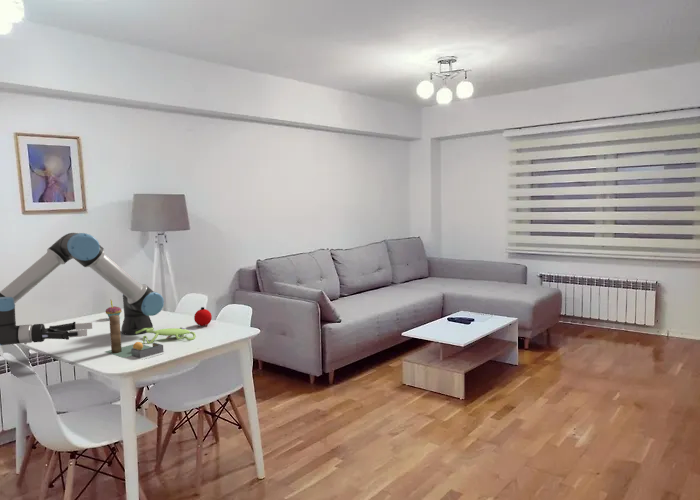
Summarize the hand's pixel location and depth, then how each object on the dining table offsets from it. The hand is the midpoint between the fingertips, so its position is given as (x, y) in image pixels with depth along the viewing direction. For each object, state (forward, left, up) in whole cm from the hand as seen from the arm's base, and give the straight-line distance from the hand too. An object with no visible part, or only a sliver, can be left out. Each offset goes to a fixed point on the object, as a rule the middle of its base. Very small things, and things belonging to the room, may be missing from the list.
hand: (89, 329), depth 217 cm
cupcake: (-63, +45, -12) cm, 79 cm away
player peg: (+6, +8, -11) cm, 15 cm away
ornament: (-4, +62, -12) cm, 64 cm away
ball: (+13, +14, -9) cm, 21 cm away
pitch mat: (+9, +13, -12) cm, 20 cm away
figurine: (+2, +35, -13) cm, 37 cm away
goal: (+20, +14, -12) cm, 27 cm away
